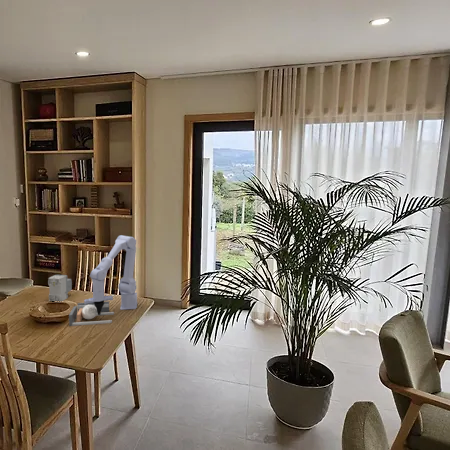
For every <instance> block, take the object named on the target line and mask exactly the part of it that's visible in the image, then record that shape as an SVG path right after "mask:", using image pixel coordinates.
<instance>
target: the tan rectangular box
mask: <svg viewBox="0 0 450 450" xmlns="http://www.w3.org/2000/svg"><path fill="white" fill-rule="evenodd" d="M82 309H83V308H80V309H79V311H78V310H77V318H76V322H82V320H83V319H84V318H83V316H82Z"/></svg>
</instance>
